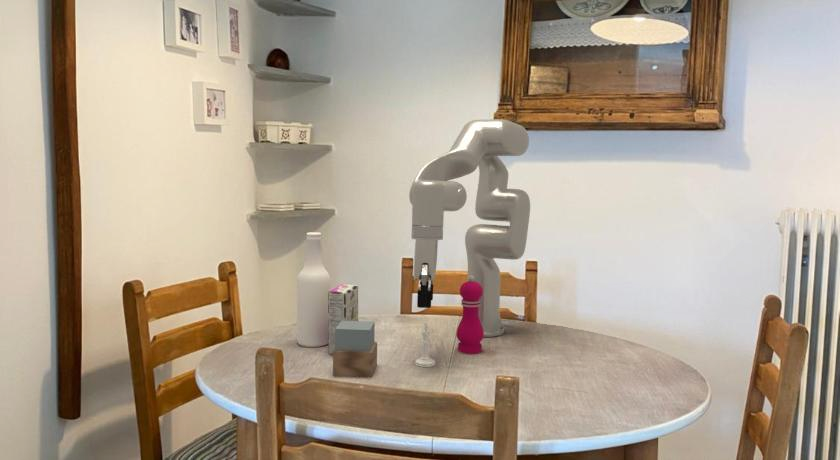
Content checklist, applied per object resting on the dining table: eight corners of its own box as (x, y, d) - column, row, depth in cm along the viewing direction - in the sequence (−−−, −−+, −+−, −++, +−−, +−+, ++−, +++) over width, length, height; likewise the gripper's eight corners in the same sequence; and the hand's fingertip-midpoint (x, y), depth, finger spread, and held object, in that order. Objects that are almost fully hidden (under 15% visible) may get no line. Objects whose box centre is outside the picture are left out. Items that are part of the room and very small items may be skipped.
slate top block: (374, 342, 155) (374, 321, 154) (369, 351, 147) (369, 330, 146) (341, 341, 155) (341, 320, 155) (334, 350, 147) (335, 328, 147)
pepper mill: (487, 349, 171) (489, 274, 169) (478, 356, 165) (480, 278, 163) (461, 345, 174) (463, 272, 172) (451, 352, 168) (453, 276, 166)
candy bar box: (341, 343, 175) (341, 283, 173) (358, 344, 174) (359, 284, 172) (327, 354, 164) (327, 291, 162) (345, 356, 163) (346, 292, 161)
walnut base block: (376, 366, 156) (377, 342, 155) (372, 378, 147) (372, 352, 146) (339, 365, 156) (340, 340, 155) (332, 377, 147) (333, 351, 146)
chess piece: (437, 362, 159) (438, 322, 158) (431, 368, 154) (432, 327, 153) (419, 360, 160) (419, 320, 159) (412, 365, 156) (413, 325, 155)
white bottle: (309, 337, 180) (309, 230, 177) (336, 341, 176) (336, 232, 173) (290, 345, 172) (290, 233, 169) (318, 349, 168) (318, 235, 165)
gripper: (414, 229, 163) (412, 296, 164) (408, 235, 146) (406, 310, 147) (443, 230, 162) (441, 298, 164) (442, 236, 145) (439, 311, 146)
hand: (425, 303), depth 155 cm, fingers open, 9 cm apart
